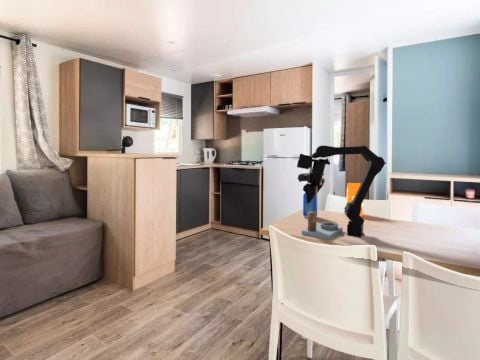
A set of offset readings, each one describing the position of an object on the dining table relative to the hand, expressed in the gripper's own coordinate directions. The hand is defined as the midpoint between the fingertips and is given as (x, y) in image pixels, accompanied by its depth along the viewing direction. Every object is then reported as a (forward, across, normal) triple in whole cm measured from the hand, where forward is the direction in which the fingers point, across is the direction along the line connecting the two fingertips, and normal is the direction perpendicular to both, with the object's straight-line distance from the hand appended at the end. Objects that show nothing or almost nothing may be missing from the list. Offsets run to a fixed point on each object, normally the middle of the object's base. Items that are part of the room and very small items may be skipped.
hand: (310, 200), depth 152 cm
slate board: (+13, +4, +10) cm, 17 cm away
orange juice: (+20, -46, +20) cm, 54 cm away
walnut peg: (+12, +8, +6) cm, 15 cm away
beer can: (+22, -27, -3) cm, 35 cm away
